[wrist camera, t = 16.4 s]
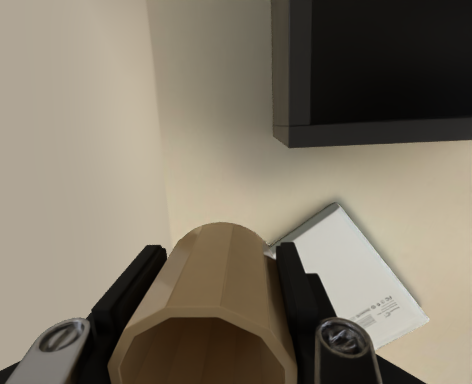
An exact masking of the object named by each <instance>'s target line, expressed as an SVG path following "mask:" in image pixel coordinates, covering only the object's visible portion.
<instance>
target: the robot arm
mask: <svg viewBox="0 0 472 384" xmlns="http://www.w3.org/2000/svg"><path fill="white" fill-rule="evenodd" d="M166 260H167V253H166V249H165V248H162V247H161V245H147V246H146V247H145V248H144V249H143V250H142V251H141V252H140V253H139V255H138V256H137V257H136V258H135V259H134V260H133V262H132V263H131V264H130V265H129V266H128V268H127V269H126V270H125V271H124V272H123V273H122V274H121V276H120V277H119V278H118V279H117V280H116V282H115V283H114V284H113V285H112V286H111V287H110V288H109V290H108V291H107V292H106V293H105V294H104V296H103V297H102V298H101V299H100V300H99V301H98V302H97V303H96V305H95V306H94V307H93V308H92V310H91V311H92V312H91V313H90V314H89V316H88V317H87V318H86V319H84V318H72V319H68V320H64V321H62V322H60V323H57V324H55V325H54V326H52V327H50V328H48V329H47V330H46V331H45V332H43V333H42V334H41V335H40V336H39V337H38V338H37V339H36V340H35V342H34V343H33V345H32V346H31V347H30V349H29V350H28V352H27V353H26V355H25V356H24V358H23V359H22V360H21V361H19V362H18V363H15V364H13V365H11V366H9V367H7V368H5V369H3V370H1V371H0V384H111V380H110V376H109V372H108V367H107V366H108V362H109V360H110V358H111V356H112V353H113V351H114V349H115V347H116V345H117V343H118V341H119V339H120V337H121V335H122V332H123V330H124V329H125V327H126V325H127V324H128V322H129V320H130V319H131V317H132V316H133V314H134V312H135V311H136V309H137V307H138V306H139V304H140V303H141V301H142V299H143V298H144V296H145V294H146V293H147V291H148V290H149V288H150V286H151V285H152V283H153V281H154V280H155V278H156V277H157V275H158V273H159V272H160V270H161V269H162V267H163V265H164V264H165V262H166ZM276 264H277V269H278V275H279V280H280V285H281V291H282V296H283V302H284V307H285V312H286V318H287V323H288V329H289V333H290V335H291V337H292V341H293V346H294V352H295V357H296V362H297V367H298V377H297V384H426V383H425V382H423V381H421V380H419V379H418V378H416V377H414V376H413V375H411V374H409V373H407V372H406V371H404V370H402V369H401V368H399V367H397V366H396V365H394V364H392V363H390V362H389V361H387V360H385V359H384V358H382V357H380V356H378V355H377V354H375V350H374V346H373V342H372V340H371V338H370V335H369V334H368V333H367V332H366V331H365V329H364V328H362V327H361V326H360V325H358V324H357V323H355V322H353V321H351V320H348V319H344V318H340V317H337V315H336V313H335V310H334V308H333V306H332V304H331V301H330V299H329V297H328V295H327V293H326V290H325V288H324V286H323V284H322V281H321V279H320V277H319V275H318V274H317V273H305V270H304V267H303V265H302V262H301V259H300V257H299V254H298V251H297V248H296V246H295V243H294V242H281V243H280V246H276Z"/></svg>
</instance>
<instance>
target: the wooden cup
mask: <svg viewBox="0 0 472 384" xmlns="http://www.w3.org/2000/svg"><path fill="white" fill-rule="evenodd" d="M107 367H108V372H109V376H110V380H111V384H297V377H298V367H297V362H296V357H295V352H294V346H293V341H292V337H291V335H290V333H289V329H288V323H287V318H286V312H285V307H284V302H283V296H282V291H281V285H280V280H279V275H278V269H277V264H276V259H275V258H274V256H273V253H272V251H271V250H270V248H269V246H268V245H267V244H266V242H265V241H264V240H263V239H262V238H261V237H260V236H259V235H257V234H256V233H255V232H253V231H251V230H250V229H248V228H246V227H243V226H241V225H237V224H233V223H227V222H217V223H210V224H205V225H202V226H199V227H197V228H195V229H193V230H192V231H190V232H189V233H187V234H186V235H185V236H184V237H183V238H182V239H180V240H179V241H178V243H177V244H176V246H175V247H174V249H173V251H172V252H171V254H170V256H169V257H168V259H167V260H166V262H165V264H164V265H163V267H162V269H161V270H160V272H159V273H158V275H157V277H156V278H155V280H154V281H153V283H152V285H151V286H150V288H149V290H148V291H147V293H146V294H145V296H144V298H143V299H142V301H141V303H140V304H139V306H138V307H137V309H136V311H135V312H134V314H133V316H132V317H131V319H130V320H129V322H128V324H127V325H126V327H125V329H124V330H123V332H122V335H121V337H120V339H119V341H118V343H117V345H116V347H115V349H114V351H113V353H112V356H111V358H110V360H109V362H108V366H107Z"/></svg>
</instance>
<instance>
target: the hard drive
mask: <svg viewBox="0 0 472 384" xmlns="http://www.w3.org/2000/svg"><path fill="white" fill-rule="evenodd" d="M281 242H294V243H295V246H296V248H297V251H298V254H299V257H300V259H301V262H302V265H303V267H304V270H305V273H317V274H318V275H319V277H320V279H321V281H322V284H323V286H324V288H325V290H326V293H327V295H328V297H329V299H330V301H331V304H332V306H333V308H334V310H335V313H336V315H337V317H340V318H344V319H348V320H351V321H353V322H355V323H357V324H358V325H360V326H361V327H362V328H364V329H365V331H366V332H367V333H368V334H369V335H370V338H371V340H372V342H373V346H374V350H377V349H379V348H381V347H383V346H385V345H387V344H389V343H391V342H393V341H395V340H396V339H398V338H400V337H402V336H404V335H406V334H408V333H410V332H412V331H414V330H416V329H418V328H419V327H421V326H423V325H425V324H426V323H427V322H428V321H429V318H428V317H427V315H426V314H425V313H424V312H423V310H422V309H421V308H420V306H419V305H418V304H417V303H416V301H415V300H414V299H413V298H412V296H411V295H410V294H409V292H408V291H407V290H406V288H405V287H404V286H403V285H402V283H401V282H400V281H399V280H398V278H397V277H396V276H395V274H394V273H393V272H392V271H391V269H390V268H389V267H388V266H387V264H386V263H385V262H384V260H383V259H382V258H381V257H380V255H379V254H378V253H377V252H376V250H375V249H374V248H373V246H372V245H371V244H370V243H369V241H368V240H367V239H366V238H365V236H364V235H363V234H362V233H361V231H360V230H359V229H358V228H357V226H356V225H355V224H354V223H353V221H352V220H351V219H350V217H349V216H348V215H347V214H346V212H345V211H344V210H343V209H342V207H341V206H340V205H339V204H338V203H332V204H331V205H329V206H328V207H326V208H325V209H323V210H322V211H320V212H319V213H318V214H316V215H315V216H313V217H312V218H311V219H309V220H308V221H306V222H305V223H304V224H302V225H301V226H299V227H298V228H297V229H295V230H294V231H292V232H291V233H290V234H288V235H287V236H285V237H284V238H283V239H281V240H280V241H278V242H277V243H275V244H274V245H273V246H271V247H270V250H271V251H272V253H273V256H274V258H275V259H276V246H280V243H281Z"/></svg>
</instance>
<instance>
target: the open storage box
mask: <svg viewBox="0 0 472 384" xmlns="http://www.w3.org/2000/svg"><path fill="white" fill-rule="evenodd" d="M271 29H272V99H273V136H274V137H275V138H276V139H278V140H279V141H280V142H282V143H283V144H284V145H286V146H287V147H288V148H303V147H326V146H348V145H370V144H393V143H415V142H438V141H460V140H472V0H271Z"/></svg>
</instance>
